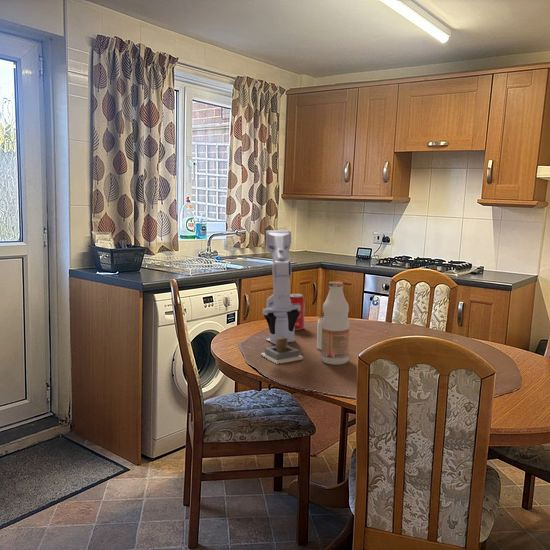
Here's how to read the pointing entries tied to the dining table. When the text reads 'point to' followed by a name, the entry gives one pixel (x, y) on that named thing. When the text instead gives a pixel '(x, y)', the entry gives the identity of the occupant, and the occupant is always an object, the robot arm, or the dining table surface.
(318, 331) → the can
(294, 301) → the soda can
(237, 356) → the dining table surface
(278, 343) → the peg
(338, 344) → the fruit juice
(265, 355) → the socket block
